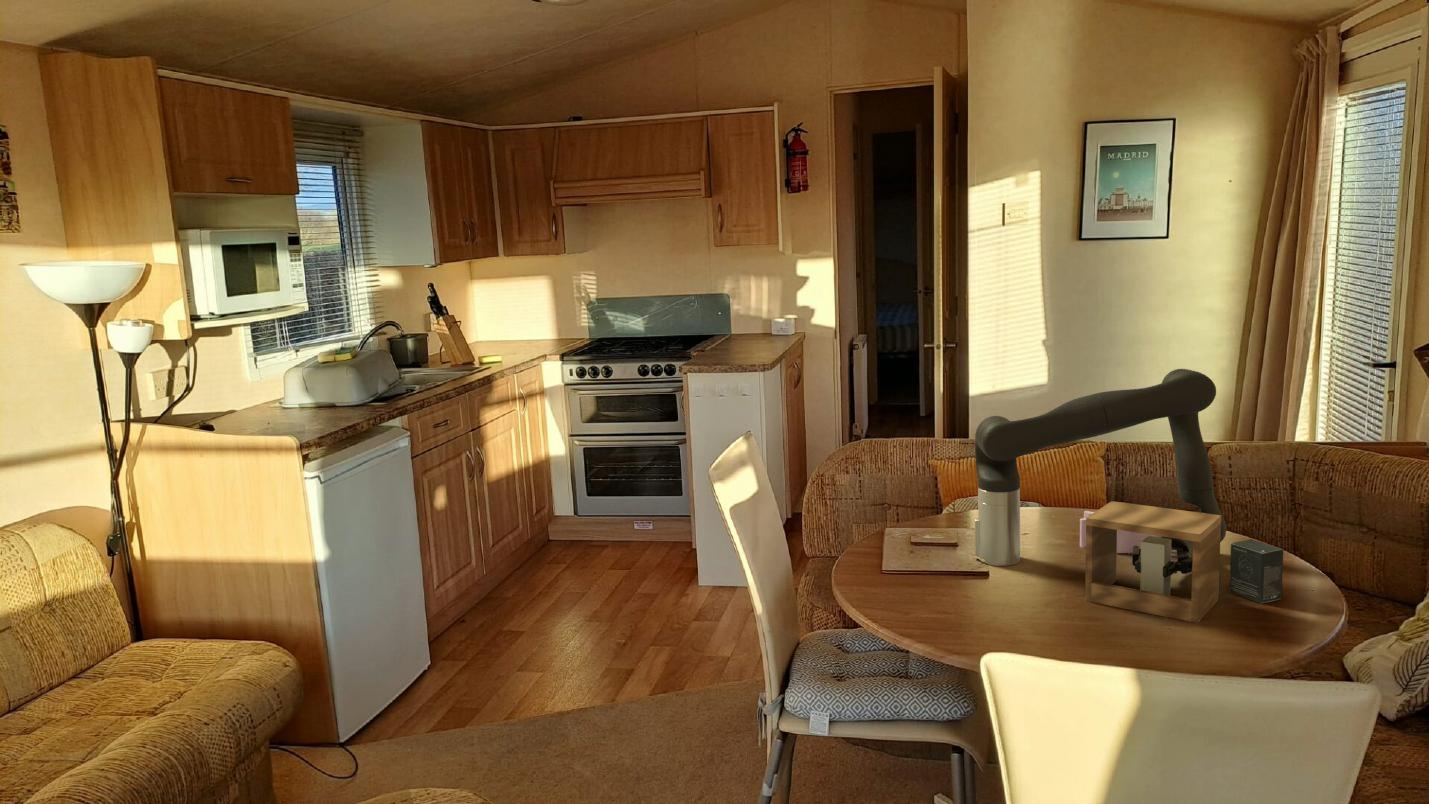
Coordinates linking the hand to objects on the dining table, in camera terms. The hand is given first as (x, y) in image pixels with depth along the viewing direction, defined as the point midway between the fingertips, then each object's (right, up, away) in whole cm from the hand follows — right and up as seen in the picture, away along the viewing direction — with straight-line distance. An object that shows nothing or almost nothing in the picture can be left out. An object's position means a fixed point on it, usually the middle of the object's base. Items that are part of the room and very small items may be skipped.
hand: (1151, 570), depth 204 cm
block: (+2, -6, +3) cm, 7 cm away
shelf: (+1, -6, +2) cm, 7 cm away
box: (+21, -6, +1) cm, 22 cm away
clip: (+9, -1, +35) cm, 36 cm away
